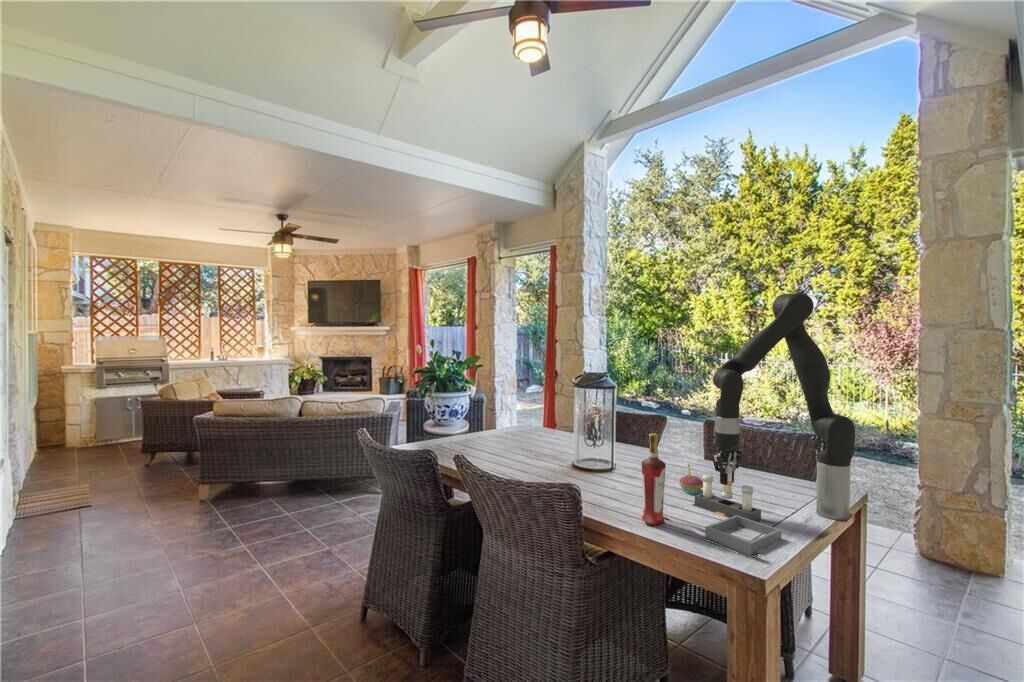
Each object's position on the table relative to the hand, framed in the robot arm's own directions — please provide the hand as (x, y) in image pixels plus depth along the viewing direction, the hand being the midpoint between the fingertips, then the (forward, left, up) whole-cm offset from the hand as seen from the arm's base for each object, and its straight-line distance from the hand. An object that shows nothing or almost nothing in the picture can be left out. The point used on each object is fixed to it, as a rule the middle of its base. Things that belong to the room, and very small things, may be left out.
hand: (727, 482), depth 161 cm
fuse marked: (0, 0, -5) cm, 5 cm away
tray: (+14, +14, -11) cm, 23 cm away
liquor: (+24, -10, -11) cm, 28 cm away
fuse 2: (0, +7, -9) cm, 12 cm away
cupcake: (-8, -19, -11) cm, 23 cm away
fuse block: (0, 0, -11) cm, 11 cm away
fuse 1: (0, -7, -9) cm, 12 cm away
